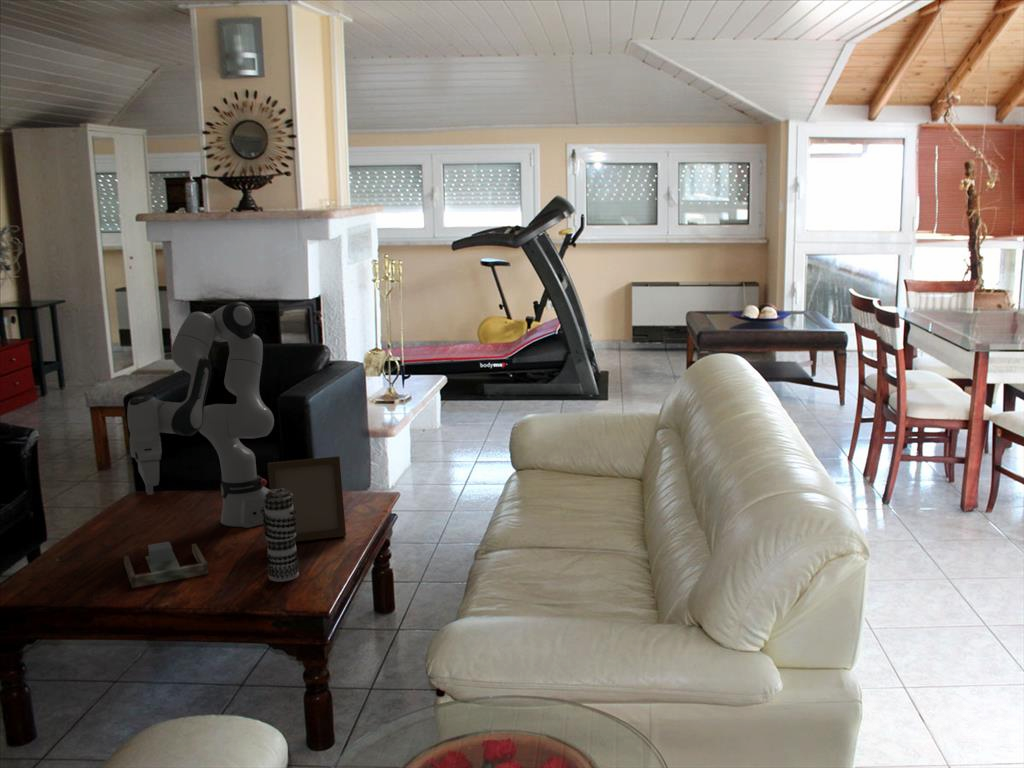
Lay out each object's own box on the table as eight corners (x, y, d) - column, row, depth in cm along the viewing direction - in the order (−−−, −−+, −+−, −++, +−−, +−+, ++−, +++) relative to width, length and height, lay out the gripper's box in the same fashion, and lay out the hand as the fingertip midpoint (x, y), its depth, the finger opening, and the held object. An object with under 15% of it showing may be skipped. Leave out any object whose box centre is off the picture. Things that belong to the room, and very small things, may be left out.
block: (170, 553, 298) (169, 541, 297) (173, 560, 293) (172, 547, 292) (149, 557, 296) (148, 544, 295) (151, 564, 290) (150, 551, 290)
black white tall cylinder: (286, 567, 286) (280, 483, 281) (307, 574, 280) (301, 489, 275) (260, 577, 279) (253, 491, 274) (281, 584, 273) (274, 497, 268)
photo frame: (346, 538, 308) (341, 460, 303) (274, 547, 302) (268, 467, 297) (341, 524, 322) (336, 449, 317) (272, 532, 316) (266, 456, 312)
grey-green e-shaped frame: (194, 548, 303) (193, 539, 302) (208, 574, 282) (207, 564, 282) (123, 560, 294) (122, 551, 293) (132, 588, 273) (131, 578, 273)
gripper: (130, 443, 307) (134, 486, 309) (138, 457, 289) (142, 503, 291) (152, 440, 309) (156, 483, 312) (161, 455, 291) (165, 500, 294)
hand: (149, 493), depth 301 cm, fingers closed
